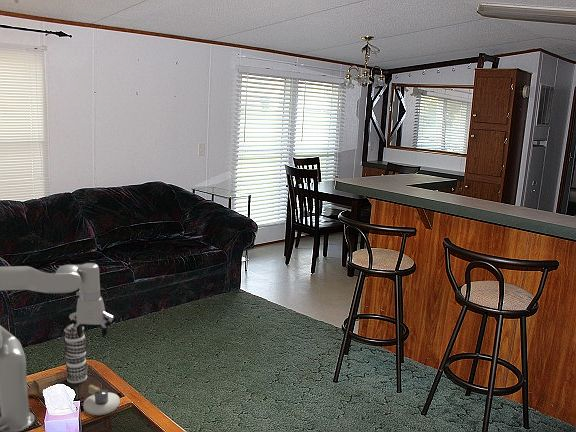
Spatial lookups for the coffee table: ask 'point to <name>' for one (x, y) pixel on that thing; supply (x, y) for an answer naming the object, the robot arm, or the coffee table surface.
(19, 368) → the robot arm
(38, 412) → the coffee table surface
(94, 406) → the white plate
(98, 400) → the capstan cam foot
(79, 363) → the grey tall cylinder
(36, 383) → the sunglasses case
